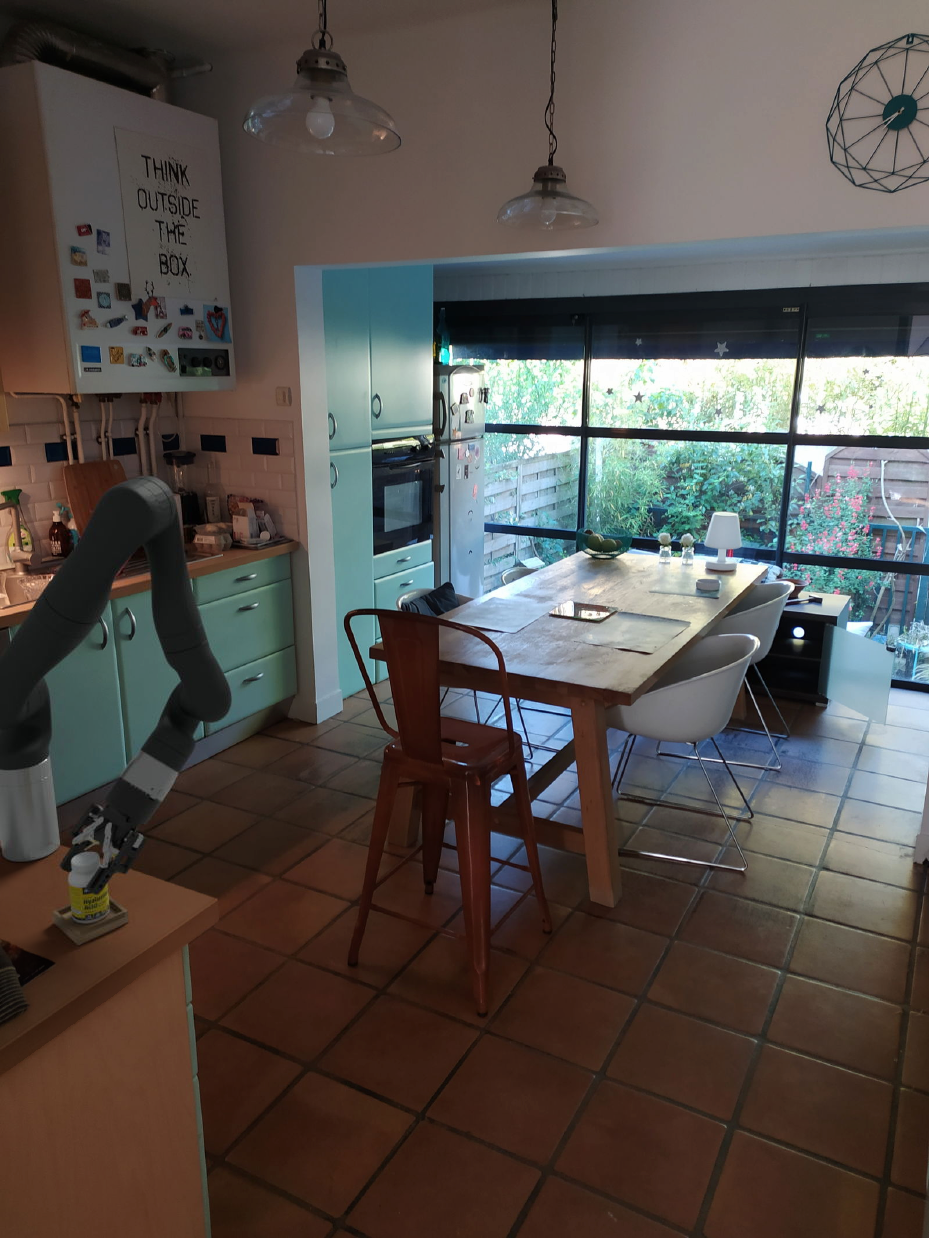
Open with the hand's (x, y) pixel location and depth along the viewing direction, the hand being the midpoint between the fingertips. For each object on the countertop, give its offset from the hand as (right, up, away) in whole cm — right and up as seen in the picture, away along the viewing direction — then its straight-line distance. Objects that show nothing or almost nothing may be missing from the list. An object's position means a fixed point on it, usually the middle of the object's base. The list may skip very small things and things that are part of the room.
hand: (77, 881), depth 137 cm
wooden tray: (+1, -7, +3) cm, 8 cm away
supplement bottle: (+1, -6, +3) cm, 7 cm away
